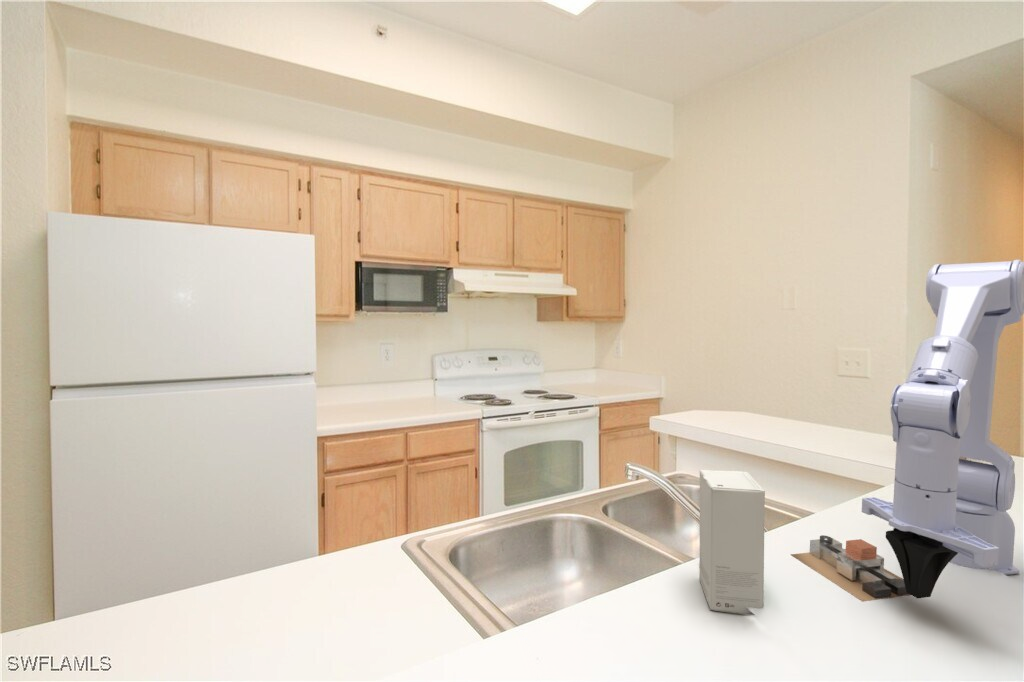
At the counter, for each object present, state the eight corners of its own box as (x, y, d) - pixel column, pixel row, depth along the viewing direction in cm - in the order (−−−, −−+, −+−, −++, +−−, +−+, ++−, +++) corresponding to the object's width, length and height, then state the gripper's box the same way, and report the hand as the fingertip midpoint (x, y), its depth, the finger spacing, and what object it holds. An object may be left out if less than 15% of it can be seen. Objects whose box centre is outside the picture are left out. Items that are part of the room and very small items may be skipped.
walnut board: (847, 556, 75) (847, 548, 75) (927, 601, 64) (928, 592, 64) (790, 562, 73) (790, 554, 73) (861, 610, 62) (862, 601, 62)
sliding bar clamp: (837, 550, 75) (837, 533, 74) (913, 593, 63) (914, 573, 63) (803, 553, 74) (804, 536, 73) (874, 598, 62) (876, 578, 62)
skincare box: (764, 618, 60) (769, 492, 59) (706, 611, 61) (710, 487, 60) (746, 581, 68) (750, 470, 67) (695, 576, 69) (698, 466, 68)
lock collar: (867, 567, 69) (868, 538, 69) (883, 576, 67) (884, 546, 67) (836, 571, 68) (838, 541, 68) (851, 580, 66) (853, 549, 66)
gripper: (844, 466, 65) (839, 567, 66) (964, 510, 51) (956, 637, 52) (888, 463, 67) (883, 562, 67) (1017, 505, 52) (1009, 629, 53)
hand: (918, 594), depth 60 cm, fingers closed
